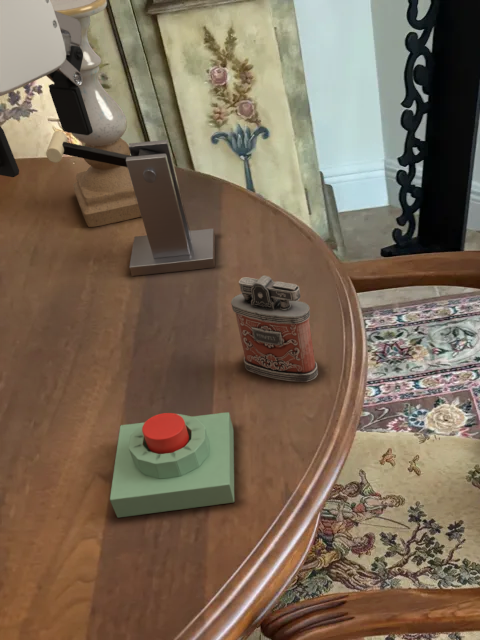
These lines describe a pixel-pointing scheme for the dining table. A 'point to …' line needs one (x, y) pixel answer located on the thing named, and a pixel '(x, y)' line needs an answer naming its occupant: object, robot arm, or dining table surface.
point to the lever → (85, 151)
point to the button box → (175, 469)
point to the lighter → (275, 330)
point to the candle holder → (100, 133)
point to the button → (165, 433)
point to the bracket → (164, 217)
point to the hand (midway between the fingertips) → (43, 152)
